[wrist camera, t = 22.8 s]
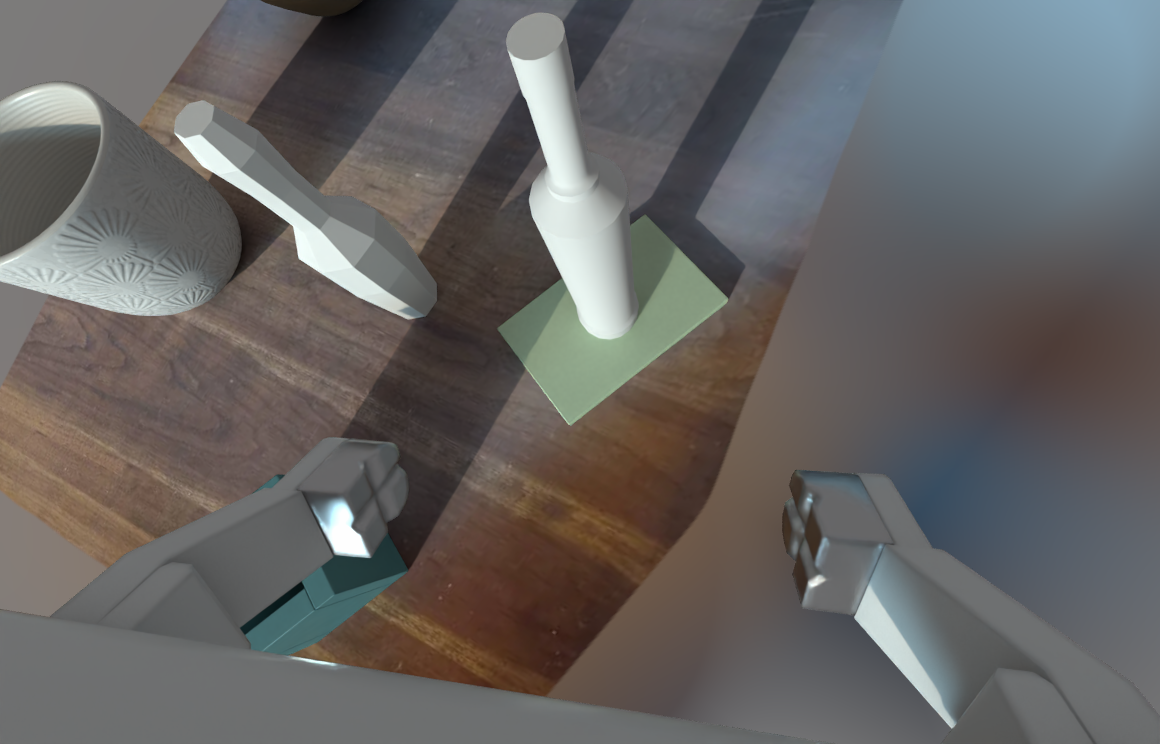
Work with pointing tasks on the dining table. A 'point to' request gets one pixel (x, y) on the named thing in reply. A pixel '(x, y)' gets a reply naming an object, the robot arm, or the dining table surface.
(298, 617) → the holster
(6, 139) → the planter
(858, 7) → the dining table surface
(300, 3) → the bowl
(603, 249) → the bottle
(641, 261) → the mat
